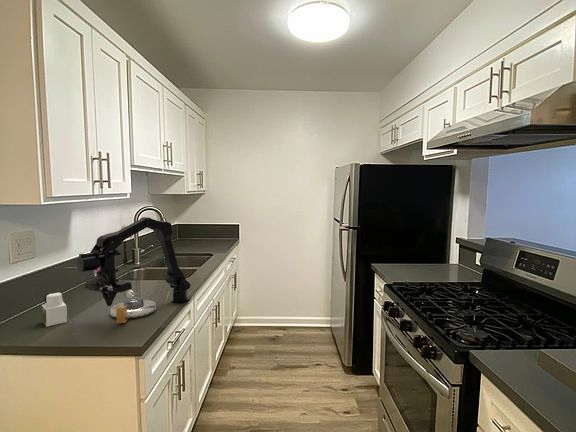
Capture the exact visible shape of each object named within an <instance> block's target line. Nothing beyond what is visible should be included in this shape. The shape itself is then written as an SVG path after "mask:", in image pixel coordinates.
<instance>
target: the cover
mask: <svg viewBox="0 0 576 432" xmlns="http://www.w3.org/2000/svg"><path fill="white" fill-rule="evenodd" d="M144 300H145V299H144V297H142V296H138V297H131V298H128V297H127V298H125V299H123V305H124V306H127V310H133V309H139V308H141V307H143V306H144Z"/></svg>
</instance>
